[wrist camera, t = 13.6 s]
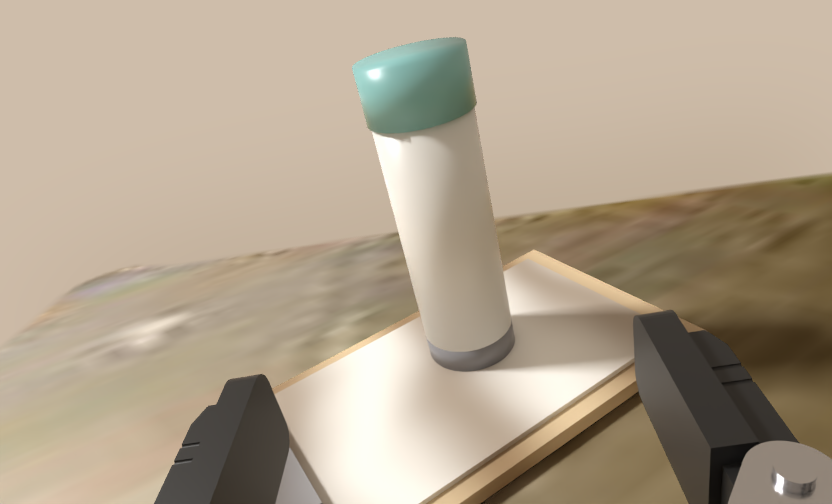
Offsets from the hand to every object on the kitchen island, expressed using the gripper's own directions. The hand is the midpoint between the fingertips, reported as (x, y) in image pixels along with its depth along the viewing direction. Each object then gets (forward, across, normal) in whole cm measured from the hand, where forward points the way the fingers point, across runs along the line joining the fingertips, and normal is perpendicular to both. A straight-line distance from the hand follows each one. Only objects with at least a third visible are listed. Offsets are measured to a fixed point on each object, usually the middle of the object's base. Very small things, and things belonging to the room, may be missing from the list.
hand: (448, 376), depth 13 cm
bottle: (+10, 0, +7) cm, 12 cm away
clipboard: (+8, +1, +8) cm, 11 cm away
